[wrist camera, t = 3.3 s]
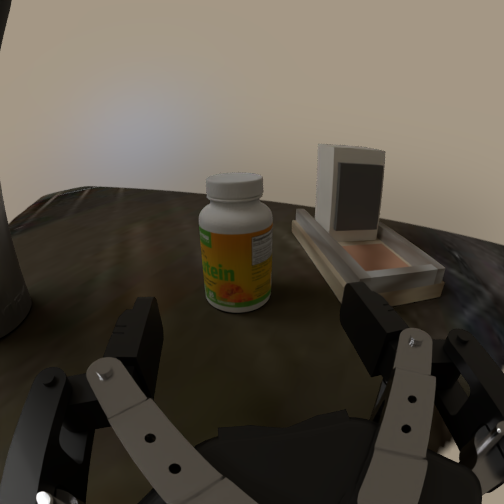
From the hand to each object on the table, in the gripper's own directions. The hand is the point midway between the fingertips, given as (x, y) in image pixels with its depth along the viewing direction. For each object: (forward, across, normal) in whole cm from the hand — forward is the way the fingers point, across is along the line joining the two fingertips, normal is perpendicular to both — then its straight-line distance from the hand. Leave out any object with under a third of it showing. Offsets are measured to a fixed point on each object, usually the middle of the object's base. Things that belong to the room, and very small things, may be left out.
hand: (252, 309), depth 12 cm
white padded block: (+19, -13, +4) cm, 23 cm away
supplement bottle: (+10, 0, +6) cm, 12 cm away
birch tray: (+15, -13, +6) cm, 21 cm away
